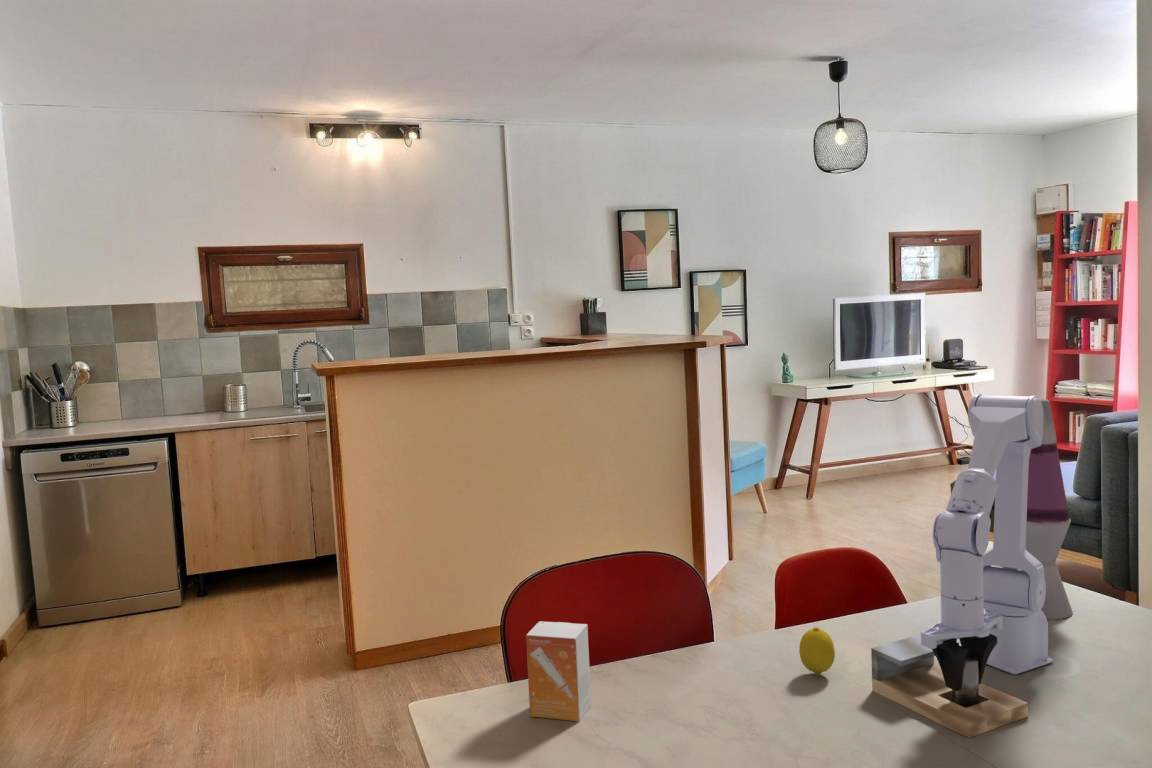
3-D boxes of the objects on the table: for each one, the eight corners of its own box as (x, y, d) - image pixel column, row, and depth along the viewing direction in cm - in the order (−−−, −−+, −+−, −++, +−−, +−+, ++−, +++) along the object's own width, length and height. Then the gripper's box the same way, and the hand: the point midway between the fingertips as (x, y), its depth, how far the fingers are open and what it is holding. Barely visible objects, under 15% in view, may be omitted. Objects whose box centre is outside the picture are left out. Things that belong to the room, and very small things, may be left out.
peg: (962, 697, 133) (961, 651, 133) (984, 705, 130) (983, 658, 130) (946, 704, 131) (945, 657, 131) (969, 712, 128) (968, 665, 128)
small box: (529, 717, 136) (524, 634, 135) (543, 699, 142) (538, 619, 141) (580, 722, 134) (575, 638, 133) (592, 704, 140) (588, 622, 139)
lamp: (1001, 600, 176) (999, 397, 172) (1060, 600, 174) (1059, 395, 170) (1018, 619, 165) (1016, 404, 162) (1082, 620, 163) (1081, 402, 160)
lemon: (836, 682, 143) (835, 634, 142) (800, 681, 144) (799, 633, 143) (833, 668, 148) (832, 621, 147) (799, 667, 149) (797, 620, 149)
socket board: (928, 673, 144) (927, 632, 144) (1028, 716, 128) (1027, 670, 128) (872, 690, 139) (871, 648, 139) (969, 738, 123) (968, 690, 123)
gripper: (948, 611, 123) (950, 707, 124) (1020, 592, 129) (1021, 683, 130) (908, 597, 129) (910, 689, 130) (979, 579, 135) (980, 666, 137)
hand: (963, 685), depth 131 cm, fingers closed on peg, 4 cm apart
